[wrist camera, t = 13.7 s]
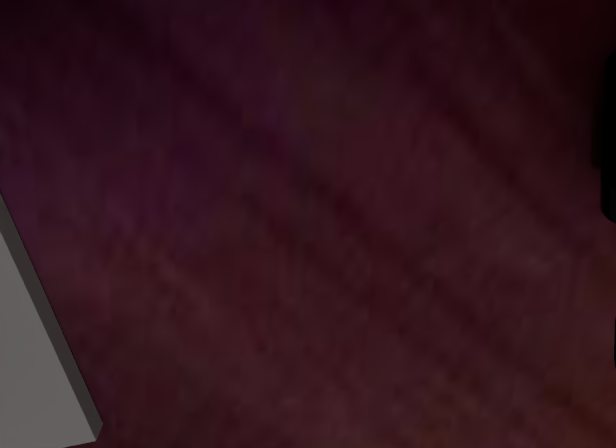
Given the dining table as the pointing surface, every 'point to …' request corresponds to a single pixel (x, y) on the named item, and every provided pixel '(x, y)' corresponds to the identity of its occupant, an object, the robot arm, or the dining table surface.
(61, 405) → the lid
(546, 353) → the dining table surface
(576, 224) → the dining table surface
